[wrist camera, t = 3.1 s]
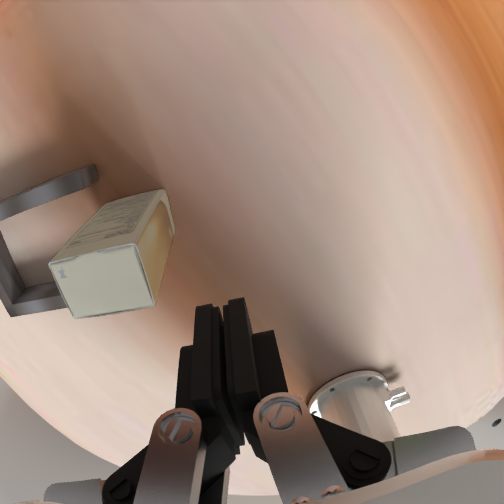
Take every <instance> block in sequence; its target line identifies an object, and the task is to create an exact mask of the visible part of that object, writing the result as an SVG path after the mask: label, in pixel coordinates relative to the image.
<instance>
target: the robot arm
mask: <svg viewBox="0 0 504 504" xmlns="http://www.w3.org/2000/svg"><path fill="white" fill-rule="evenodd" d="M223 319H224V322H223ZM409 402H410V396H409V393H408V392H405V388H404V387H403V386H402V387H399V388H396V389H395V390H392V391H389V390H388V383H387V381H386V379H385V378H384V376H383V375H382V374H380V373H378V372H375V371H369V370H368V371H356V372H352V373H348V374H345V375H343V376H340V377H338V378H336V379H334V380H332V381H330V382H328V383H327V384H325V385H324V386H323V387H321V388H320V389H319V390H318V391H317V392H316V393H315V394H314V395H313V396H312V398H311V400H310V401H309V405H308V407H307V405H306V404H305V402H304V401H303V400H302V399H301V398H300V397H298V396H297V395H295V394H292V393H288V388H287V384H286V380H285V376H284V372H283V368H282V363H281V359H280V355H279V351H278V347H277V343H276V338H275V334H274V330H270V331H266V332H261V333H256V334H253V332H252V327H251V323H250V319H249V315H248V311H247V307H246V303H245V299H244V297H243V298H238V299H233V300H228V305H224V306H223V318H222V315H221V312H220V309H219V307H213V305H212V304H207V305H202V306H197V307H196V310H195V324H194V339H193V345H190V346H184V347H182V348H181V350H180V358H179V368H178V379H177V391H176V404H175V409H172V410H169V411H167V412H165V413H164V414H162V415H161V416H160V417H159V418H158V419H157V420H156V422H155V424H154V427H153V430H152V434H151V437H150V441H149V444H148V445H147V446H146V447H145V448H144V449H142V450H141V451H140V452H139V453H138V454H136V455H135V456H134V457H133V458H132V459H130V460H129V461H128V462H127V463H126V464H124V465H123V466H122V467H121V468H119V469H118V470H117V471H116V472H114V473H113V474H112V475H111V476H110V477H109V478H108V479H107V480H101V479H100V478H99V479H91V480H84V481H74V482H63V483H55V484H52V485H50V486H49V487H48V488H47V490H46V491H45V494H44V501H25V502H20V503H16V504H227V495H228V484H229V474H230V468H229V465H230V464H231V463H232V462H233V461H234V460H235V459H236V457H235V455H237V454H240V448H239V446H242V445H245V440H244V433H245V436H246V438H247V440H248V442H249V444H251V446H252V449H253V451H254V453H255V455H256V457H258V458H260V459H262V460H263V461H265V462H267V463H268V464H269V467H270V470H271V473H272V475H273V478H274V481H275V484H276V486H277V489H278V492H279V494H280V497H281V500H282V502H283V504H504V450H499V449H483V450H476V448H475V445H474V440H473V437H472V435H471V433H470V432H469V431H468V430H466V429H465V428H463V427H460V426H452V427H447V428H443V429H438V430H434V431H429V432H425V433H420V434H414V435H409V436H403V437H401V435H400V433H399V431H398V429H397V427H396V425H395V422H394V420H393V418H392V416H391V414H390V411H392V410H393V408H395V407H398V406H402V405H404V404H407V403H409Z"/></svg>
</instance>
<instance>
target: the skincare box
mask: <svg viewBox="0 0 504 504" xmlns="http://www.w3.org/2000/svg"><path fill="white" fill-rule="evenodd" d="M174 234H175V227H174V222H173V218H172V213H171V209H170V205H169V201H168V197H167V193H166V190H165V189H159V190H154V191H150V192H145V193H141V194H137V195H133V196H129V197H125V198H122V199H118V200H115V201H112V202H108V203H105V204H104V205H103V206H102V207H101V208H100V209H99V210H98V211H97V212H96V213H95V214H94V215H93V216H92V217H91V218H90V219H89V220H88V221H87V222H86V223H85V224H84V225H83V226H82V227H81V228H80V229H79V230H78V231H77V232H76V233H75V234H74V235H73V237H72V238H71V239H70V240H69V241H68V242H67V243H66V244H65V245H64V246H63V247H62V248H61V249H60V251H59V252H58V253H57V254H56V255H55V256H54V257H53V258H52V260H51V261H50V262H49V263H48V265H49V268H50V270H51V272H52V275H53V277H54V279H55V282H56V284H57V286H58V288H59V291H60V293H61V295H62V297H63V299H64V301H65V303H66V305H67V307H68V309H69V310H70V312H71V314H72V316H73V318H75V319H79V318H90V317H98V316H105V315H111V314H117V313H123V312H128V311H134V310H139V309H144V308H149V307H154V306H155V305H156V301H157V297H158V293H159V289H160V285H161V281H162V277H163V273H164V270H165V266H166V262H167V259H168V255H169V251H170V248H171V244H172V241H173V237H174Z"/></svg>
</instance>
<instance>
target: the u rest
mask: <svg viewBox="0 0 504 504" xmlns="http://www.w3.org/2000/svg"><path fill="white" fill-rule="evenodd" d="M96 180H98V175H97V172H96V168H95V165H94V164H92V165H89V166H86V167H83V168H81V169H78V170H75V171H72V172H70V173H67V174H65V175H62V176H59V177H57V178H54V179H52V180H49V181H47V182H44V183H42V184H39V185H37V186H35V187H32V188H30V189H28V190H25V191H23V192H21V193H19V194H16V195H14V196H12V197H10V198H8V199H5V200H3V201H1V202H0V221H1V220H4V219H6V218H8V217H11V216H13V215H16V214H18V213H20V212H23V211H25V210H28V209H30V208H33V207H36V206H38V205H41V204H43V203H46V202H49V201H51V200H54V199H57V198H60V197H62V196H65V195H68V194H71V193H74V192H77V191H80V190H83V189H85V188H86V187H88V186H89V185H91V184H92V183H94V182H95V181H96ZM0 299H1V301H2V303H3V305H4V306H5V308H6V310H7V312H8V313H9V315H10V317H15V316H21V315H27V314H33V313H39V312H45V311H50V310H56V309H62V308H68V307H67V305H66V303H65V301H64V299H63V297H62V295H61V293H60V291H59V288H58V286H57V284H56V282H51V283H46V284H42V285H38V286H33V287H29V288H25V286H24V284H23V281H22V279H21V277H20V275H19V273H18V271H17V269H16V267H15V265H14V262H13V260H12V258H11V256H10V253H9V251H8V249H7V246H6V244H5V241H4V239H3V236H2V234H1V231H0Z"/></svg>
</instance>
